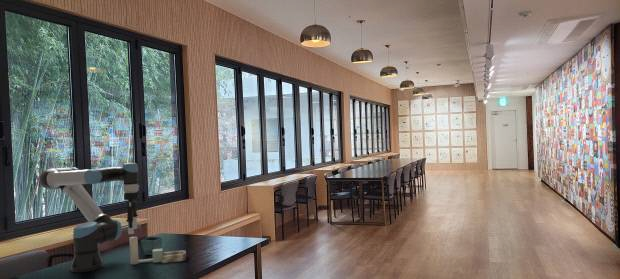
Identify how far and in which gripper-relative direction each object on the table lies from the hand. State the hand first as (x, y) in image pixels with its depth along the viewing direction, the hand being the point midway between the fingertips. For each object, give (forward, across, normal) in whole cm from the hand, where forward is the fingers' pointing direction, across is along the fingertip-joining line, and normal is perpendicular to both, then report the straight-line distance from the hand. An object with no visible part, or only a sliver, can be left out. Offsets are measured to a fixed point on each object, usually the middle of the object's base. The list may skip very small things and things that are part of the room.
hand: (132, 231), depth 243 cm
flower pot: (+18, +19, -8) cm, 27 cm away
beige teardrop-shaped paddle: (+17, 0, -7) cm, 18 cm away
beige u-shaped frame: (+17, 0, -21) cm, 27 cm away
